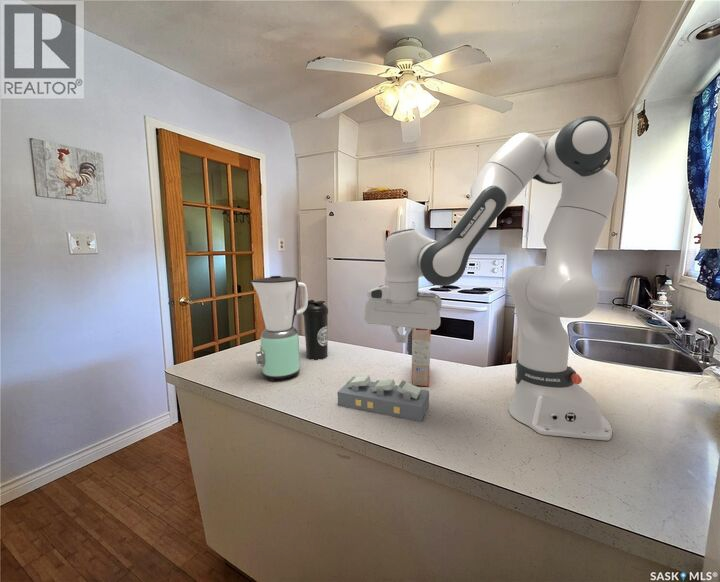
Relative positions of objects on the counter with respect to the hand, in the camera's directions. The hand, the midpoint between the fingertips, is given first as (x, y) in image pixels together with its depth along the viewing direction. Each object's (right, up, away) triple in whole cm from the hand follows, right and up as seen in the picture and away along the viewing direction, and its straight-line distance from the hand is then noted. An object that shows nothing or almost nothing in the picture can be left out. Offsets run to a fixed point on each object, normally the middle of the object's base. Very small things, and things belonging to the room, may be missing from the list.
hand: (401, 342), depth 88 cm
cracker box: (+9, -16, +23) cm, 29 cm away
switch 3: (+2, -13, +1) cm, 13 cm away
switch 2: (-5, -13, +4) cm, 14 cm away
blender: (-38, -16, +28) cm, 50 cm away
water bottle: (-29, -13, +45) cm, 55 cm away
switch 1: (-12, -13, +7) cm, 18 cm away
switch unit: (-5, -19, +5) cm, 20 cm away
